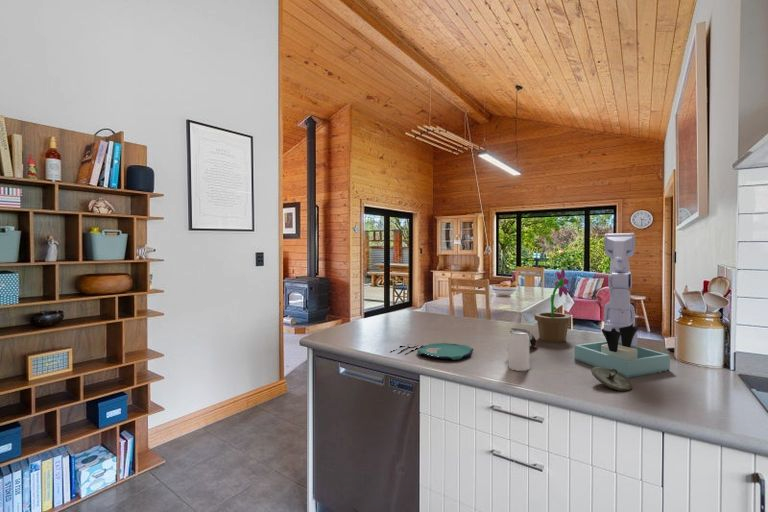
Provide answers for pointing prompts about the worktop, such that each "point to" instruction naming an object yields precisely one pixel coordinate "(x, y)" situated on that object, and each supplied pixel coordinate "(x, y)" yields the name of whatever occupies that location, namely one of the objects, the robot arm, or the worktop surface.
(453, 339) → the worktop surface
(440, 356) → the teal platter
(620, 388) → the lid
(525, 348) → the can
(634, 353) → the small crate
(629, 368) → the big tray
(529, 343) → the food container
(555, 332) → the flowerpot
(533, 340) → the pottery mug
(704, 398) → the worktop surface
